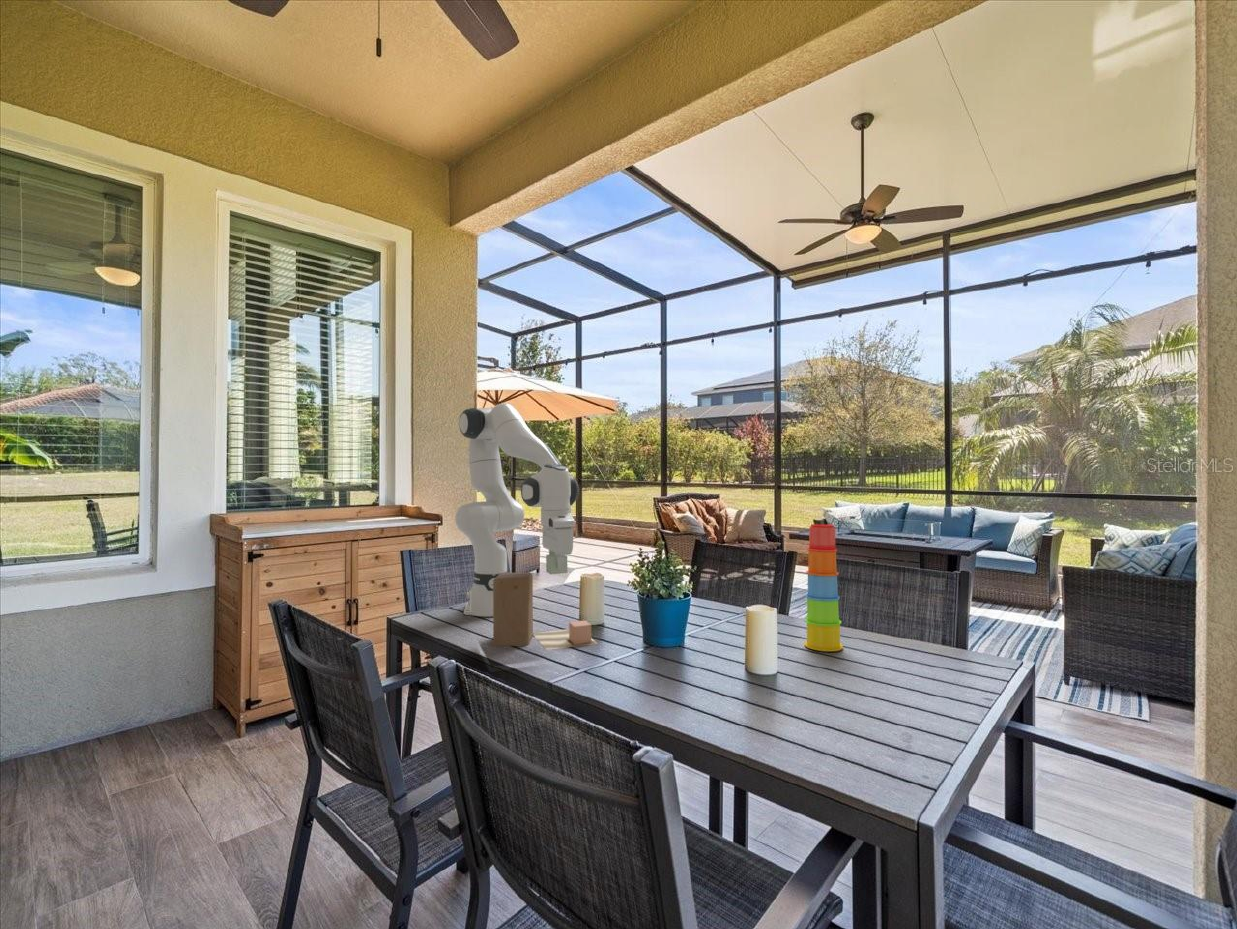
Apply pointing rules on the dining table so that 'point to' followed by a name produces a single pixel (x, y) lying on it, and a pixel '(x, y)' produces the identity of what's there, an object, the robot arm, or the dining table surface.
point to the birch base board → (557, 639)
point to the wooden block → (513, 609)
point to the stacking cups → (822, 591)
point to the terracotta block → (580, 632)
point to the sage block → (552, 567)
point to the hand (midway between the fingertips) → (556, 566)
